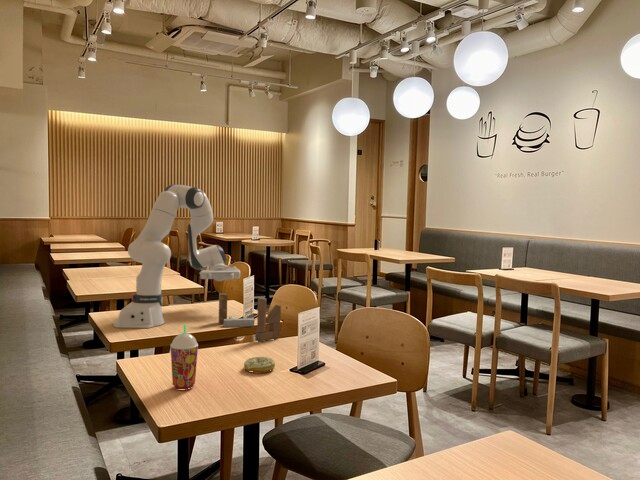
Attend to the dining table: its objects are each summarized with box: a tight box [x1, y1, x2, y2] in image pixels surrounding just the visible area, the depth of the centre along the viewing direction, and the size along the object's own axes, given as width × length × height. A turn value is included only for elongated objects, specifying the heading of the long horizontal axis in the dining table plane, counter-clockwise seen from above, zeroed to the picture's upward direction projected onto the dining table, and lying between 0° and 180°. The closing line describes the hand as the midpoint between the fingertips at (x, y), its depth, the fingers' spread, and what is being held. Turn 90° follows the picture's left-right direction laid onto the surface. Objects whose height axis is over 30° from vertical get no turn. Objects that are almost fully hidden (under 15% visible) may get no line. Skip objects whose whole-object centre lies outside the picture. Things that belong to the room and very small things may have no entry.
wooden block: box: [254, 297, 282, 342], centre depth 228 cm, size 4×11×18 cm, turn 133°
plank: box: [218, 292, 228, 325], centre depth 255 cm, size 4×4×14 cm
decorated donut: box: [243, 356, 276, 373], centre depth 187 cm, size 10×11×4 cm
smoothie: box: [170, 323, 199, 390], centre depth 166 cm, size 8×8×20 cm
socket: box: [223, 315, 255, 328], centre depth 253 cm, size 14×8×3 cm, turn 106°
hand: (221, 276), depth 266 cm, fingers open, 8 cm apart
